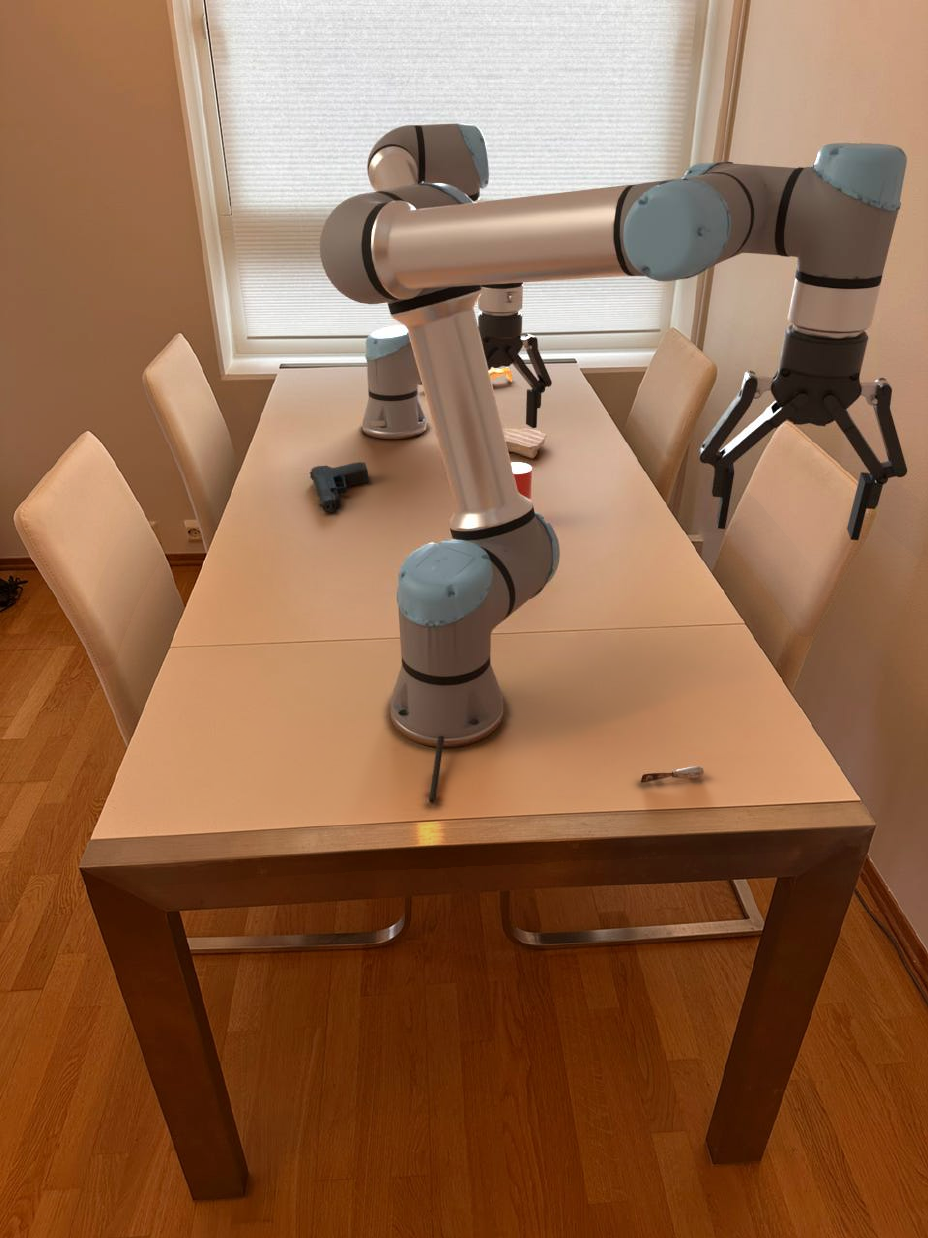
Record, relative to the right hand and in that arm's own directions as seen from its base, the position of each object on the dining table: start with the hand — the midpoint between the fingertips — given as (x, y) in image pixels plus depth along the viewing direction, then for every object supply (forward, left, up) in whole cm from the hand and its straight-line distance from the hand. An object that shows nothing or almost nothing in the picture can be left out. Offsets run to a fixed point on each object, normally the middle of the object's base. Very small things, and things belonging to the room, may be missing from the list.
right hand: (785, 529), depth 96 cm
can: (+61, +39, -32) cm, 79 cm away
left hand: (+62, +42, -14) cm, 76 cm away
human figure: (+142, +65, -32) cm, 160 cm away
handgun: (+67, +75, -32) cm, 106 cm away
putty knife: (-6, +8, -32) cm, 34 cm away
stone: (+99, +44, -32) cm, 113 cm away
